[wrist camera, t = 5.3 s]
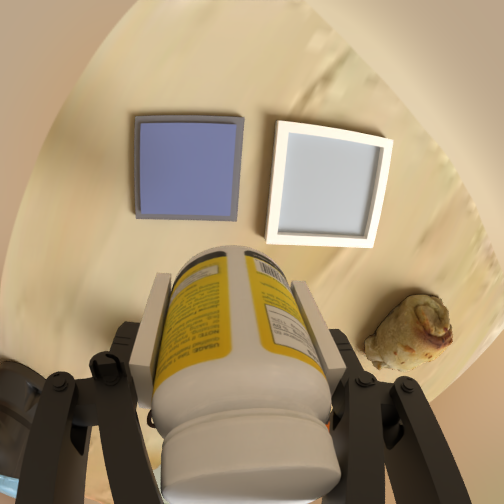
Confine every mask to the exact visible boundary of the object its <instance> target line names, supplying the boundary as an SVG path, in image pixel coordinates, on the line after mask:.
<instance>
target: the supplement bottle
mask: <svg viewBox="0 0 504 504" xmlns="http://www.w3.org/2000/svg"><path fill="white" fill-rule="evenodd" d="M331 402H332V401H331V393H330V389H329V385H328V382H327V379H326V377H325V374H324V372H323V370H322V367H321V364H320V362H319V359H318V357H317V354H316V351H315V349H314V346H313V344H312V341H311V338H310V336H309V334H308V331H307V328H306V326H305V324H304V321H303V319H302V316H301V314H300V312H299V309H298V306H297V304H296V302H295V299H294V296H293V294H292V292H291V290H290V287H289V285H288V282H287V280H286V277H285V275H284V274H283V272H282V270H281V269H280V267H279V266H278V265H277V264H276V263H275V262H274V261H273V260H272V259H271V258H270V257H268V256H267V255H265V254H264V253H262V252H260V251H257V250H255V249H252V248H249V247H244V246H235V245H232V246H220V247H215V248H211V249H208V250H205V251H203V252H201V253H199V254H197V255H195V256H194V257H192V258H191V259H190V260H189V261H188V262H187V263H185V265H184V266H183V267H182V268H181V270H180V271H179V273H178V274H177V276H176V279H175V281H174V284H173V287H172V291H171V296H170V301H169V305H168V310H167V315H166V320H165V325H164V330H163V336H162V341H161V346H160V351H159V357H158V363H157V369H156V375H155V380H154V387H153V393H152V399H151V411H152V419H153V422H154V425H155V427H156V429H157V431H158V432H159V434H160V435H161V436H162V438H163V439H164V441H163V445H162V453H161V493H162V496H163V498H164V499H165V500H166V501H168V502H169V503H170V504H307V503H310V502H312V501H314V500H316V499H318V498H320V497H322V496H324V495H326V494H327V493H329V492H330V491H331V490H332V489H333V488H334V487H335V486H336V485H337V484H338V483H339V481H340V478H341V472H340V467H339V464H338V460H337V457H336V453H335V450H334V446H333V440H332V437H331V435H330V434H329V431H328V428H327V427H326V425H325V424H326V422H327V420H328V418H329V415H330V411H331Z"/></svg>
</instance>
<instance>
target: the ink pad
mask: <svg viewBox="0 0 504 504" xmlns="http://www.w3.org/2000/svg"><path fill="white" fill-rule="evenodd" d="M243 131H244V117H227V116H200V115H160V116H135V139H134V181H135V211H136V219H169V220H208V221H237V212H238V197H239V183H240V170H241V156H242V143H243Z"/></svg>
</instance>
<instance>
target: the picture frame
mask: <svg viewBox="0 0 504 504" xmlns="http://www.w3.org/2000/svg"><path fill="white" fill-rule="evenodd" d="M392 147H393V140H391V139H387V138H382V137H378V136H373V135H369V134H364V133H359V132H353V131H348V130H343V129H337V128H331V127H325V126H318V125H311V124H304V123H296V122H288V121H279V120H276V125H275V136H274V146H273V157H272V167H271V177H270V187H269V197H268V207H267V217H266V227H265V237H264V239H265V242H266V244H284V245H311V246H337V247H362V248H373V245H374V240H375V236H376V232H377V228H378V223H379V219H380V214H381V209H382V204H383V199H384V194H385V189H386V184H387V178H388V172H389V166H390V160H391V154H392Z"/></svg>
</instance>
